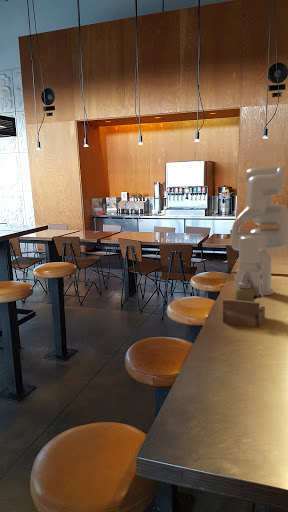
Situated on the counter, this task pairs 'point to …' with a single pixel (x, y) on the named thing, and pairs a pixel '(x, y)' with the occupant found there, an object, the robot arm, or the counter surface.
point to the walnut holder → (243, 312)
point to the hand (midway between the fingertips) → (248, 310)
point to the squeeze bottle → (244, 290)
